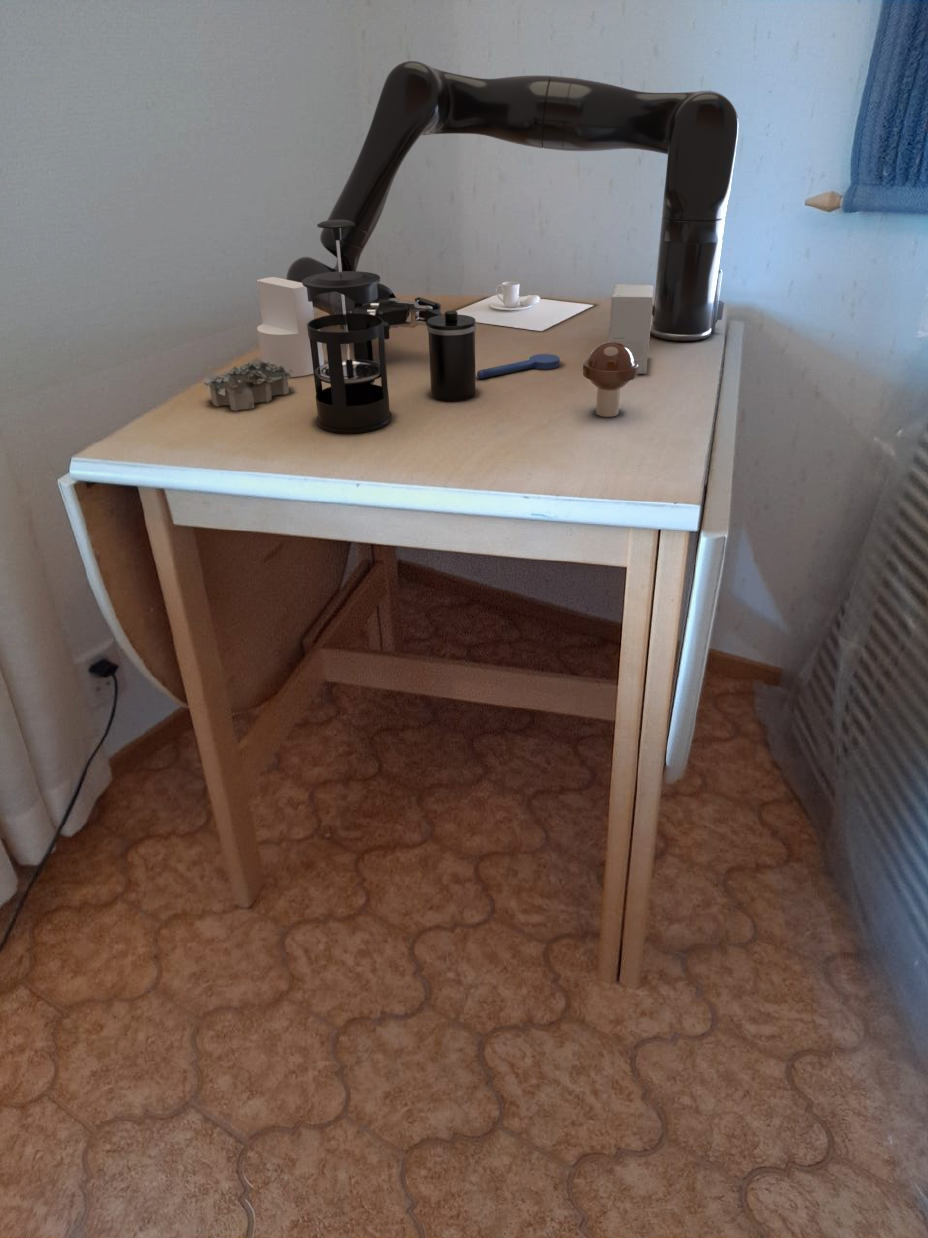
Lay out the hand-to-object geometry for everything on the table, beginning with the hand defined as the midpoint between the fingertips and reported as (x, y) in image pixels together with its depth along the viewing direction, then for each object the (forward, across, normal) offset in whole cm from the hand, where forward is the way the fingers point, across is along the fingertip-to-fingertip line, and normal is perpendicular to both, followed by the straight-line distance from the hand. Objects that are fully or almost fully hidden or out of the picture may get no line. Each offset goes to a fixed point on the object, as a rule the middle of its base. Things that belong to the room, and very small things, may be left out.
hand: (414, 327), depth 119 cm
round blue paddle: (+6, +13, +7) cm, 16 cm away
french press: (+11, -15, +7) cm, 20 cm away
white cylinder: (-14, -13, +7) cm, 20 cm away
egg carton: (-5, -23, +7) cm, 25 cm away
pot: (+10, 0, +7) cm, 12 cm away
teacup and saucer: (-22, +33, +7) cm, 40 cm away
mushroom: (+27, +12, +7) cm, 31 cm away
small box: (+14, +27, +7) cm, 31 cm away
